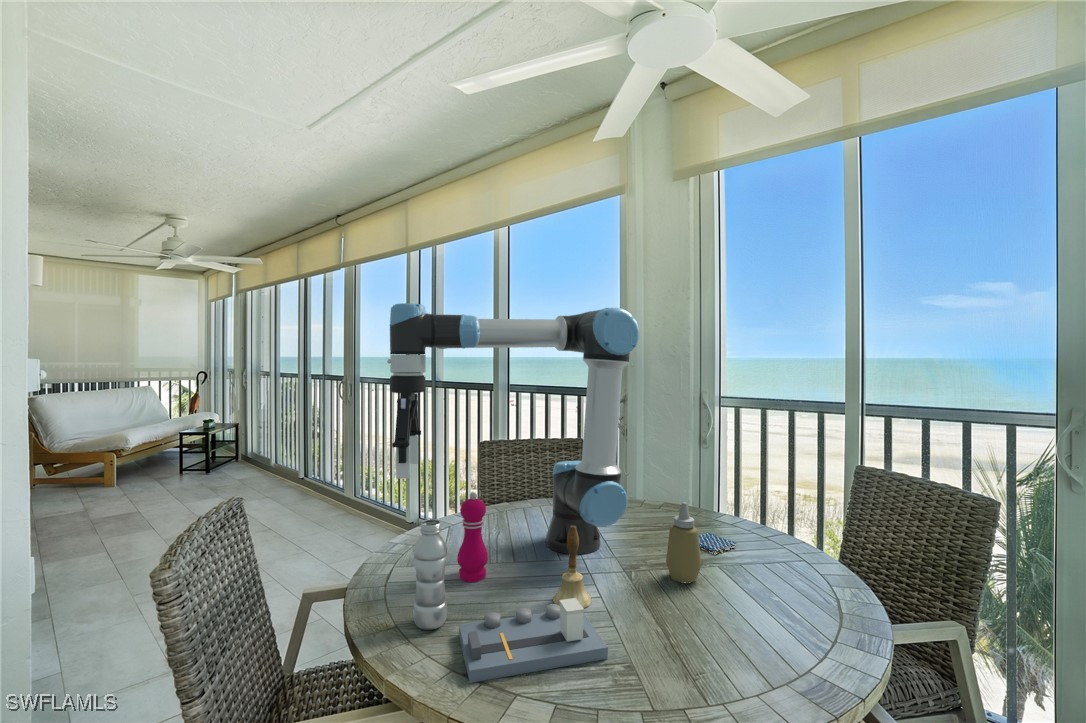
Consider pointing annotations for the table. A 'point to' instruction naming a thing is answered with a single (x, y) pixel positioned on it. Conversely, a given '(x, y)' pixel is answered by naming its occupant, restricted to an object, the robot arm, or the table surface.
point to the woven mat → (714, 543)
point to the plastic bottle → (430, 577)
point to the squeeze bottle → (683, 548)
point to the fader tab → (571, 619)
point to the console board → (525, 644)
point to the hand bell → (572, 575)
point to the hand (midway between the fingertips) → (407, 470)
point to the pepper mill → (472, 541)
